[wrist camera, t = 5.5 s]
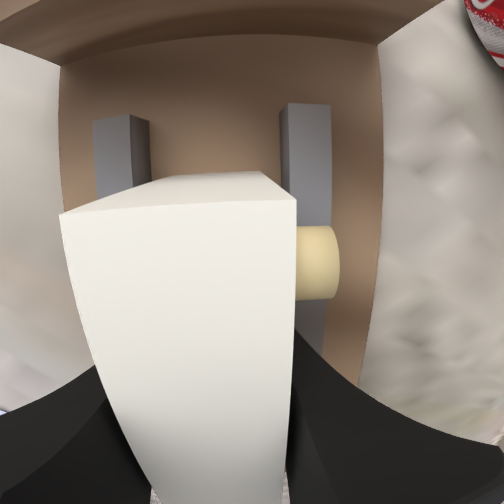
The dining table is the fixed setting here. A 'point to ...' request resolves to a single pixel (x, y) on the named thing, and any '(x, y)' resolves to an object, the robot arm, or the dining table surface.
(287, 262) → the door panel
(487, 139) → the dining table surface
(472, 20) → the soda can
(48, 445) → the robot arm
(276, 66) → the board
